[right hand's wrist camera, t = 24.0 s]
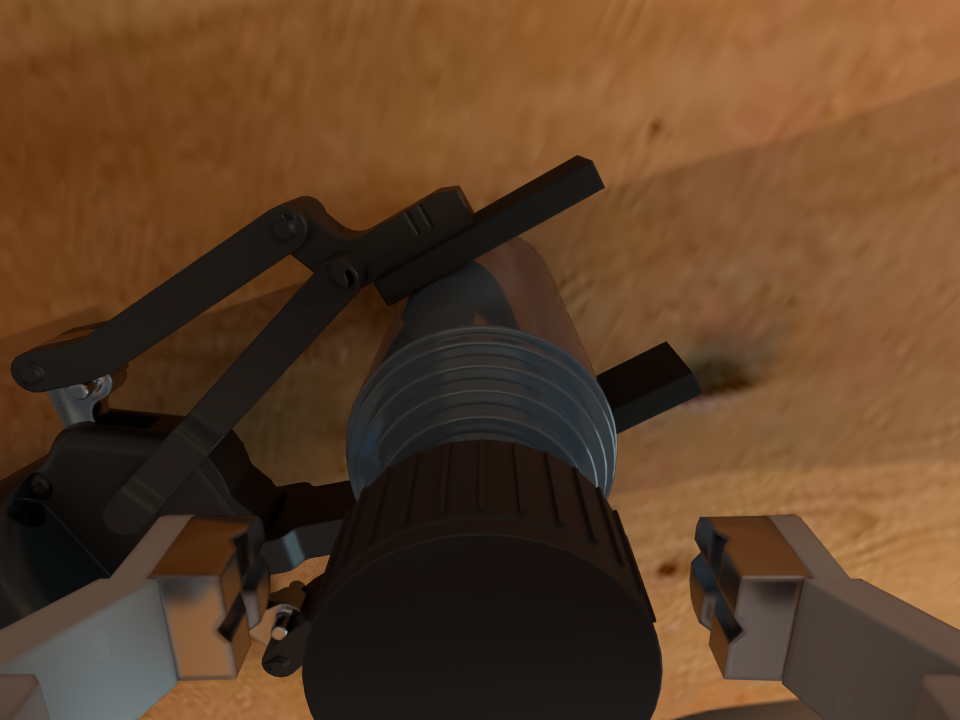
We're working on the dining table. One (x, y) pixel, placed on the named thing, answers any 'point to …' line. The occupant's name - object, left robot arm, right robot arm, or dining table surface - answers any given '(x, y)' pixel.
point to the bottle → (483, 373)
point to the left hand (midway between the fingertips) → (637, 273)
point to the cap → (482, 597)
